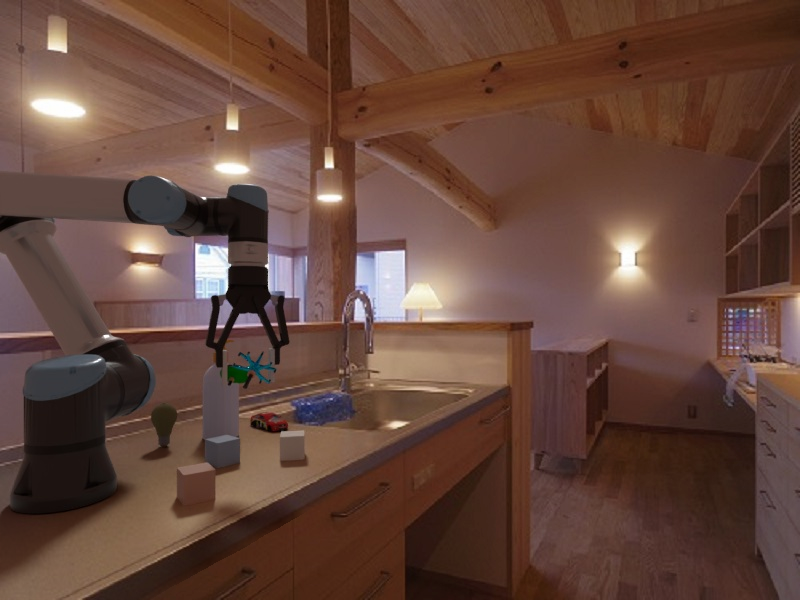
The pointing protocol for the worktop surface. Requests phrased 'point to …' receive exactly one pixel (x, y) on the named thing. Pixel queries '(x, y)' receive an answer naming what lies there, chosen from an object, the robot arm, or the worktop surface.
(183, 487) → the terracotta cube
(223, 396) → the soap bottle
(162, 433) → the light bulb
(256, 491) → the worktop surface
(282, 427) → the race car
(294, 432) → the cream cube
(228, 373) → the stick construction toy
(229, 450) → the slate blue cube
